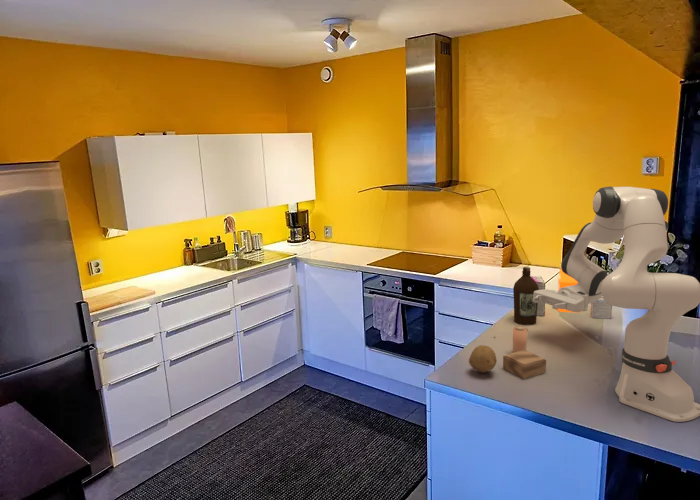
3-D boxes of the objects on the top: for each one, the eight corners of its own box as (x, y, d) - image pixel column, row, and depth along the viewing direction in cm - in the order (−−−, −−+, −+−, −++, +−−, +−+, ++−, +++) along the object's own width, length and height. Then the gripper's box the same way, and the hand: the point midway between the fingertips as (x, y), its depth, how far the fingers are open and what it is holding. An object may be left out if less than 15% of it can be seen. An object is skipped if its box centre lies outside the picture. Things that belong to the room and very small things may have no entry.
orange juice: (579, 312, 221) (581, 271, 217) (558, 311, 224) (560, 270, 220) (576, 307, 228) (578, 267, 225) (557, 306, 231) (558, 266, 227)
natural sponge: (501, 376, 162) (502, 349, 160) (477, 380, 160) (477, 352, 158) (488, 365, 171) (489, 339, 169) (466, 369, 169) (466, 342, 167)
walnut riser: (545, 372, 164) (546, 358, 163) (524, 379, 160) (524, 365, 159) (523, 361, 173) (524, 349, 172) (503, 368, 168) (503, 355, 167)
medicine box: (609, 316, 215) (610, 297, 213) (611, 319, 211) (612, 300, 209) (590, 315, 217) (591, 297, 216) (592, 318, 213) (593, 300, 211)
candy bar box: (529, 308, 230) (530, 276, 227) (540, 308, 229) (541, 276, 226) (533, 316, 219) (534, 282, 216) (544, 316, 218) (546, 282, 215)
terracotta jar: (529, 354, 179) (530, 327, 176) (519, 357, 176) (520, 330, 174) (519, 350, 183) (519, 323, 181) (509, 353, 181) (510, 326, 179)
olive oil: (510, 317, 219) (511, 265, 214) (533, 317, 218) (535, 264, 213) (515, 325, 208) (517, 270, 203) (540, 325, 207) (542, 270, 202)
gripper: (547, 284, 196) (523, 289, 190) (591, 295, 178) (566, 302, 172) (547, 298, 197) (522, 304, 191) (590, 311, 179) (565, 318, 173)
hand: (543, 303), depth 181 cm, fingers open, 8 cm apart
